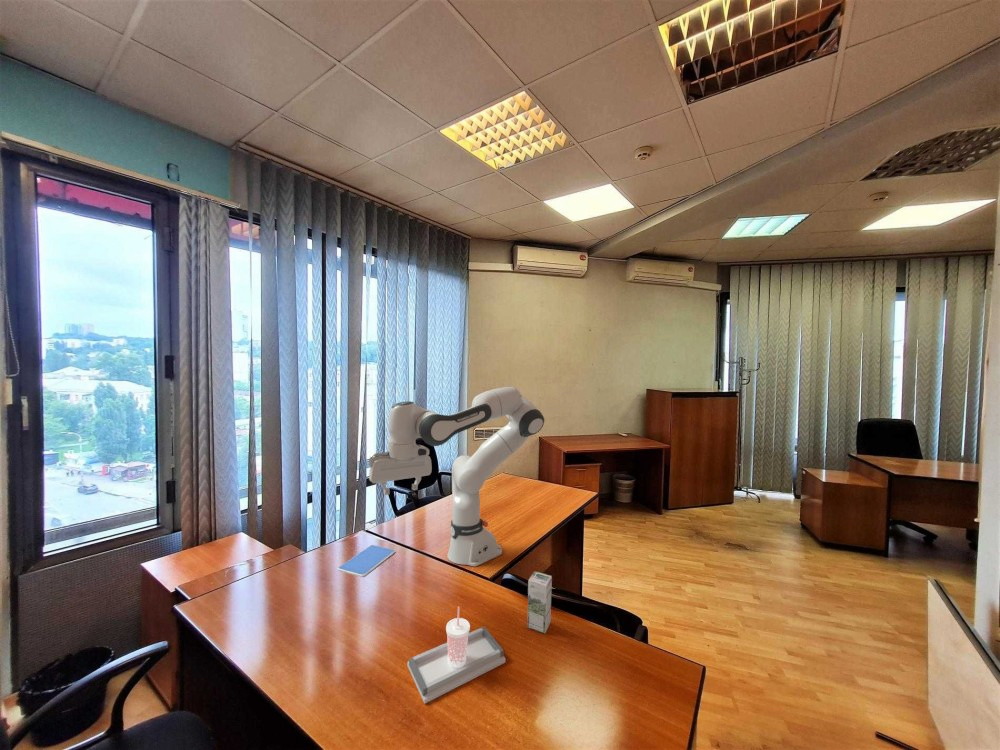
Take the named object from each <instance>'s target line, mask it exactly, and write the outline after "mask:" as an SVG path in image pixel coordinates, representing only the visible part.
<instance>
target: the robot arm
mask: <svg viewBox="0 0 1000 750" xmlns="http://www.w3.org/2000/svg"><path fill="white" fill-rule="evenodd" d="M388 416H389V417H388V428H387V429H388V433H389V437H388V441H387V451H386V452H384V451H383V452H376V453H373V455H371V456H370V457H369V459H368V461H369V462H368V463H369V464H368V465H369V474H368V480H369V481H370V482H371V483H372V484H378V483H379V484H380V485H381V487H382V488H383V494H384V496H388V495H390V492H391V491H390V490H391V489H390V487H386V485H387V482H393V481H399V480H404V479H405V480H406V479H407V480H408V479H413V478H415V480H414V483H411V490H413V491H417V490H418V487H419V484H420V482H421V480H422V477H426V476H427V477H428V476H430V475H431V474H432V469H433V468H432V467H433V466H432V459H431V456H429V455H430V449H429V448H428V447H426V446H424V445H421V444H417V443H416V440H417V439H422V440H423V442H424V443H425V444H427V445H429V446H431V447H439V446H442V445H445V444H446V443H447V442H448V441H449V440H451V439H452V438H453V437H454V436H456V435H457V434H459V433H462V432H464V431H466V430H469V429H471V428H474V427H476V426H478V425H481V424H483V423H487V422H491V421H494V420H497V419H500V418H503V417H506V418H507V419H508V420H509V422H508V423H507V424H506V425H504V426H502V428H500V429H499V430H497V431H496V432H494V433H493V434H492V435H491V436H489V437H488V438H487V439H486V440H485V441H483V442H482V443H481V444H480V446H479V448H478V449H477V450H476V451H475V452H474V453H473V454H472V455H471V456H470V455H467V454H461V455H459V456H458V457H456V458H455V460H454V461H453V463H452V467H451V492H452V496H451V497H452V498H451V499H452V512H451V515H452V517H451V521H450V543H449V547H448V551H447V555H446V557H447V559H448V561H450V562H452V563H453V564H454V563H455V564H458V565H464V566H465V565H467V566H470V567H477V566H480V565H482V564H484V563H486V562H488V561H490V560H493V559H494V558H497V557H499V556H500V555H502V554H503V549H502V547H501V546H500V545H499V544H498V542H497V539H496V537H495V535H494V534H493V533H492V532H491V531H490V530H488V529H487V527H488V526H489V522H488V521H486V520H483V519H482V518H481V516H480V515H481V514H480V513H481V498H480V490H481V489H482V487H483V486H484V483H485V482H486V481H487V480H488V478H489V477H491V475H492V473H494V472H495V470H496V469H497V468H498V467H499V466H500V465H501V464H503V463H504V462H505V461H506V460H507V459H509V457H511V456H512V455H514V453H516V452H517V451H518V450H519V449H520V448H521V447H522V446H523V445H524V444H525V443H526V441H528V438H529V437H531V436H534V435H536V434H537V433H539V432H540V431H541V430H542V429H543V427H544V425H545V417H544V415H543V413H542V412H541V410H539V409H538V408H537V407H536V406H535V405H534V404H533V403H532V402H531V401H529V400H528V399H527V398H525V397H524V396H522V394H521V392H520V390H518V388H516V387H514V386H505V387H503V386H502V387H497V388H493V389H490V390H486V391H483V392H481V393H478V394H477V395H476V396H474V397H473V399H472V401H471V407H468V408H466V409H464V410H460V411H458V412H455V413H452V414H440V413H437V412H435V411H432V410H429V409H426V408H424V407H421V406H420V405H417V404H416V403H415V402H414V401H411V400H410V401H401V402H398V403H395V404H393V405H392V406H391V407H390V411H389V415H388Z"/></svg>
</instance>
